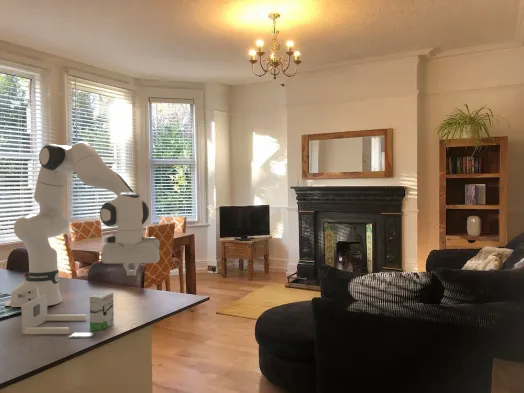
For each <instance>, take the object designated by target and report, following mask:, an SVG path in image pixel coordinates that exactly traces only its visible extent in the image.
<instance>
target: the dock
mask: <svg viewBox="0 0 524 393" xmlns="http://www.w3.org/2000/svg"><path fill="white" fill-rule="evenodd" d="M20 310H21V332H22V335H68V334H70V326H69V327H67V326H66V327H64V326H63V327H60V326H59V327H55V326H54V327H53V326H52V327H51V326H50V327H48V326H46V327H43V326H42V327H39V326H40V325H42V324H43V323H45V322H47V321H48V322H50V321H53V322H54V321H55V322H56V321H57V322H58V321H64V322H65V321H66V322H67V321H69V322H70V321H73V322H74V321H78V322H80V321H87V314H48V306H47V294H43V295H41V296H39V297H37V298H35V299H33V300H31V301H29V302H27V303H25V304H24V305H22V306H21V308H20Z"/></svg>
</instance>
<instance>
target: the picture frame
mask: <svg viewBox="0 0 524 393" xmlns="http://www.w3.org/2000/svg"><path fill="white" fill-rule="evenodd" d="M97 334H98V332H97V331H94V332H73V333H72V334H70V335H69V336H68V339H93V338H94V337H96V335H97Z"/></svg>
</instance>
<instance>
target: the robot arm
mask: <svg viewBox="0 0 524 393" xmlns="http://www.w3.org/2000/svg"><path fill="white" fill-rule="evenodd" d="M38 161H39V163H40V169H39V172H38V176H37V180H36V184H35V189H34V194H33V195H34V196H33V198H34V201H35V202H37V204H39V205H38V206H39V212H38V213H33V214H27V215H24V216H22V217H19V218H17V219H16V221H15V222H14V225H13V232H14V234H15V236H16V237H17V238H18V239H19V240H20V241H21V242H22V243H23V244H24V246H25V248H26V251H27V256H28V268H29V271H28V272H25V273H23V278H25V280H24V281H23V282H21V283H19V285H18V286H16V287H15V288H13V290H12V291H11V294H10V299H9V300H8V301H7V302H5V303H4V307H5V306H12V307H11V308H13V307H21V306H22V305H24V304H25V303H27V302H29V301H31V300H33V299H35V298H37V297H39V296H41V295H43V294H47V307H49V306H55V305H58V304H60V303H62V302H63V298H62V294H61V291H60V285H59V282H60V272H59V268H58V253H57V252H58V251H57V250H56V249H55V248H53V247H51V244H50V241H49V238H56V237H58V236H61V235H62V234H64V233H65V232H67V231H68V229H69V225H70V224H69V223H70V222H69V219H68V217H67V216H66V215H65V213H64V211H63V198H64V191H65V188H66V182H67V176H68V175H69V173H73V174H75V175H77V177H78V178H79V180H80V181H81V182H82V183H83V184H85V185H86V186H89V187H92V188H93V187H94V188H98V189H103V190H107V191H109V192H112V193H113V194H115V195H116V198H114V199H111V200H110V201H109V200H108V202H104V204H103V205H102V206H101V208H100V211H99V218H100V221H101V223H102V224H103V225H105V226H106V227H109V228H116V227H117V233H113V234H111V235H108V236H106V237H104V239H103V240H104V245H103V246H102V249H101V251H102V252H101V261H102V263H104V264H123V265H122V266H123V268H124V269H125V271H126V276H129V277H131V276H136V275H137V270H138V268H139V266H140V264H156V263H158V262H159V261H160V258H161V257H160V256H161V255H160V246H161V243H160V240H159V238H156V237H155V236H151V237H149V236H144V226H143V225H144V224H145V223H146V222H147V220H148V218H149V216H150V208H149V206H148V205H147V203H146V202H145V201H144V200H143V199H142V198H141V195H140V194H139V193H137V192H135V191H134V190H133V189H132V188H131V187H130V186H129V184H128V183H127V182H126V181H125V179H124V178H123V177H122V176H121V175H120V174H118V173H117V171H116V172H115V171H114V170H113V169H111V168H110V167H109V166H108V165H107V163H105V162H104V161H103V159H102V158H101V156H100V155H99V153H98V152H97V150H96V149H95V148H94V147H93V146H92V145H91V144H89V143H88V142H86V141H85V142H84V141H79V142H75V143H74V144H73V145H63V144H62V145H60V144H56V143H55V144H54V143H49V144H45V145H44V146H42V148H41V149H40V151H39V155H38ZM130 264H133V267H134V268H133V269H130V267H129V266H130Z"/></svg>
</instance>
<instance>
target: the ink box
mask: <svg viewBox="0 0 524 393" xmlns="http://www.w3.org/2000/svg"><path fill="white" fill-rule="evenodd" d="M114 321H115V320H114V292H111V291H110V292H109V291H100V292H98V293H95V294H93V295H91V296H89V330H91V331H103V330H105V329H107V328H108V327H110V326H111V325H113V324H114V323H115V322H114Z"/></svg>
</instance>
